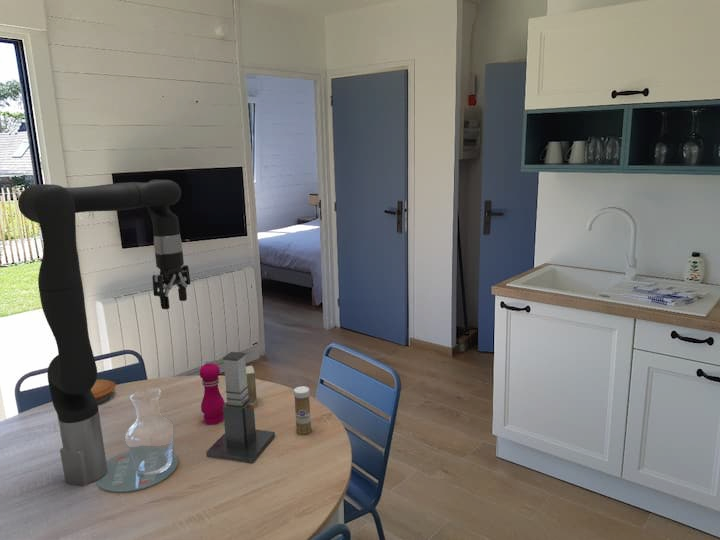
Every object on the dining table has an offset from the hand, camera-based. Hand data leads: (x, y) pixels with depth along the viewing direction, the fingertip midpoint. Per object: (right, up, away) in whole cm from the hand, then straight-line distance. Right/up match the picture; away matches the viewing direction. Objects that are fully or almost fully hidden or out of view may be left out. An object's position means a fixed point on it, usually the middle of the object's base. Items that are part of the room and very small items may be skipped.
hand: (174, 304), depth 159 cm
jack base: (+21, -40, -5) cm, 45 cm away
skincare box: (+18, -34, +20) cm, 44 cm away
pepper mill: (+9, -37, +10) cm, 39 cm away
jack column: (+21, -32, -7) cm, 39 cm away
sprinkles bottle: (+38, -38, +2) cm, 53 cm away
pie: (-37, -34, +27) cm, 57 cm away
